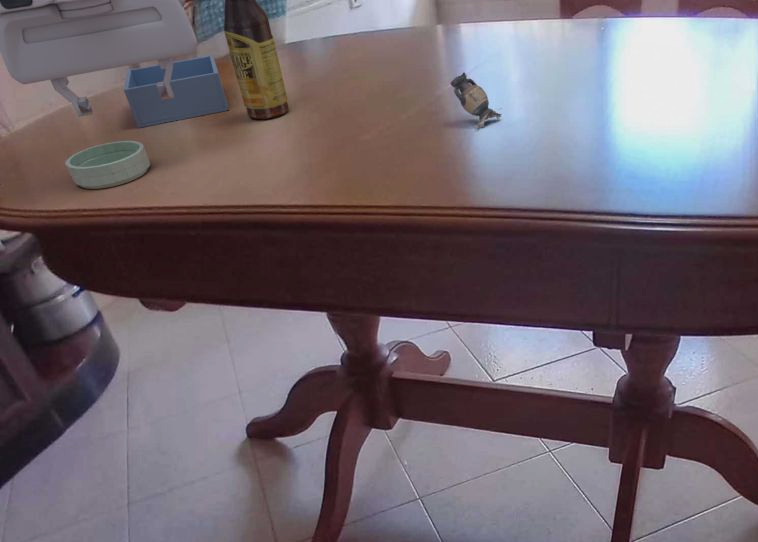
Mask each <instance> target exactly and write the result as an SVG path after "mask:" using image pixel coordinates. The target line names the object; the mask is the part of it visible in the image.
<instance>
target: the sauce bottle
mask: <svg viewBox="0 0 758 542" xmlns="http://www.w3.org/2000/svg"><path fill="white" fill-rule="evenodd" d="M223 17H224V20H223V32H224V36H225V37H224V38H225V41H226V44H227V47H228V50H229V55H230V59H231V63H232V66H233V69H234V74H235V77H236V80H237V84H238V87H239V92H240V94H241V98H242V102H243V105H244V107H245V110H246V112H247V115H248V117H250V118H251V119H257V120H268V119H272V118H276V117H279V116H282V115H284V114H286V113H287V112H289V109H290V108H289V103H288V100H289V99H288V94H287V89H286V86H285V82H284V78H283V73H282V69H281V64H280V60H279V56H278V51H277V47H276V42H275V39H274V36H273V34H272V29H271V24H270V20H269V17H268V15H267V13H266V11H265V10H264V9H263V7H262V6H261V5H260V4H259V3H258V1H257V0H224V16H223Z"/></svg>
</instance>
